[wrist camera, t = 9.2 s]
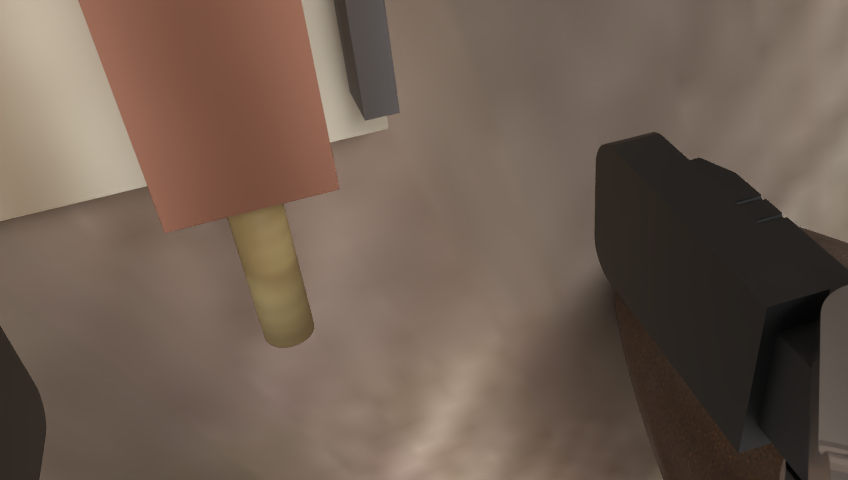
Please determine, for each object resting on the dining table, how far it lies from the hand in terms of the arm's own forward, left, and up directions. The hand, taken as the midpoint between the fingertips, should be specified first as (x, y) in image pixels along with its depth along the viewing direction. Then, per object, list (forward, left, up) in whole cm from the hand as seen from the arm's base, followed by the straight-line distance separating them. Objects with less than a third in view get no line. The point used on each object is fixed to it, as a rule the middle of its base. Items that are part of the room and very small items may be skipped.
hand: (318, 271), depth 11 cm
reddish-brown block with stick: (+1, +2, -13) cm, 13 cm away
